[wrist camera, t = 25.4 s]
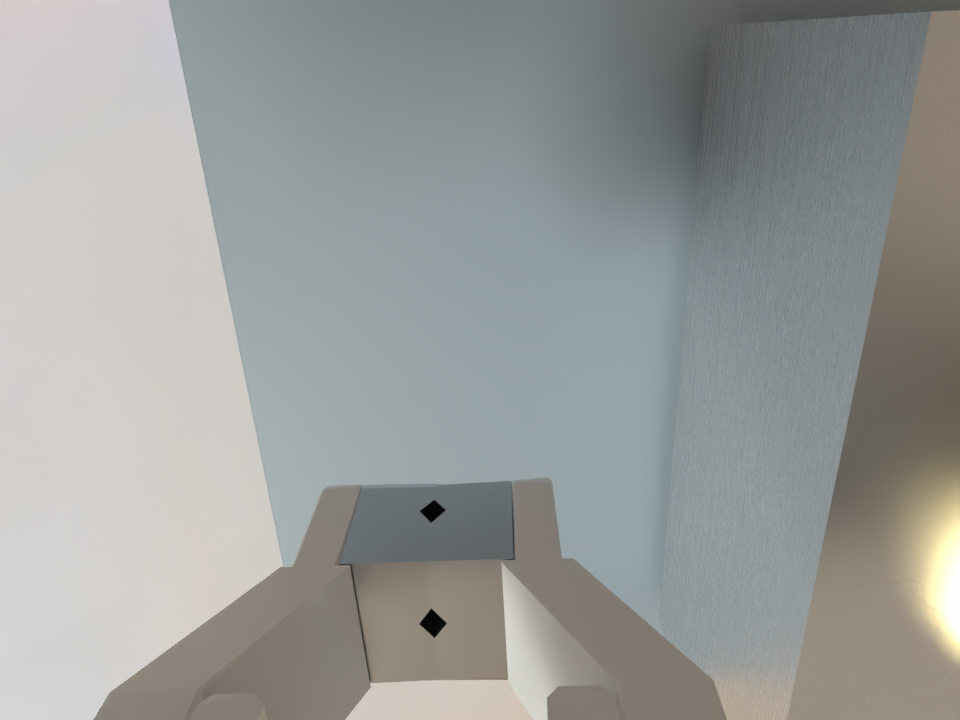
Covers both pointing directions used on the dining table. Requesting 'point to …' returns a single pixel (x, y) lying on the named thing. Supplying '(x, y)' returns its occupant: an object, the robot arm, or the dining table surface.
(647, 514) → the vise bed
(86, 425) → the dining table surface
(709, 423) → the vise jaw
